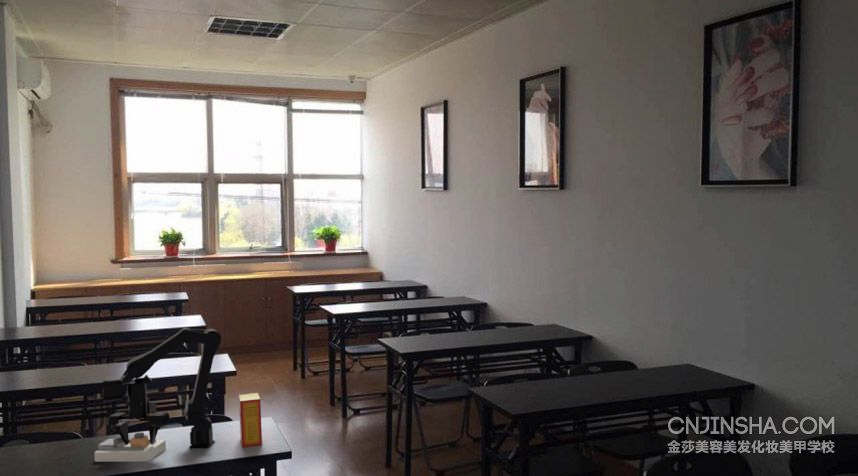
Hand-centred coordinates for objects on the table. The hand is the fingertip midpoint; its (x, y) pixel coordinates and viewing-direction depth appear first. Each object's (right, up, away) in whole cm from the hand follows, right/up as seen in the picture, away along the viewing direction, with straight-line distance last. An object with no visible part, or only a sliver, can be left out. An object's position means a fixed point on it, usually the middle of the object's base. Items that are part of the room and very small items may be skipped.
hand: (139, 444), depth 231 cm
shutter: (-9, -1, +1) cm, 9 cm away
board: (-3, -4, 0) cm, 5 cm away
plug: (0, -4, 0) cm, 4 cm away
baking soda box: (+34, -2, +10) cm, 36 cm away
